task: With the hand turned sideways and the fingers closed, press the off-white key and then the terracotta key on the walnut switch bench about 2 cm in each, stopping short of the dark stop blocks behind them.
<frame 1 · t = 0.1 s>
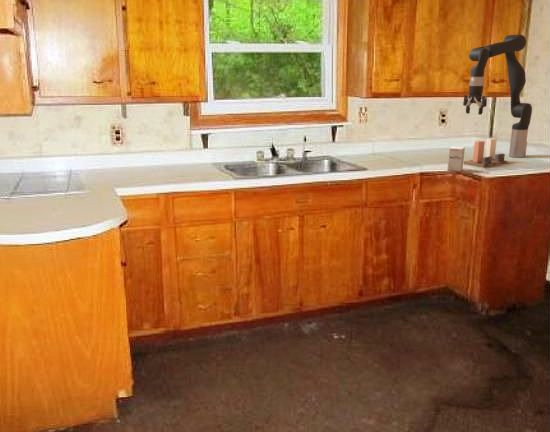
hand: (473, 113, 306), 29 cm above the worktop, tool pointing down, fingers open, 8 cm apart
switch bench: (485, 163, 315), on the worktop
key white: (490, 148, 318), point 8 cm above the worktop, slide at 0.0 cm
key terracotta: (478, 151, 309), point 8 cm above the worktop, slide at 0.0 cm
supplement box: (455, 170, 298), on the worktop
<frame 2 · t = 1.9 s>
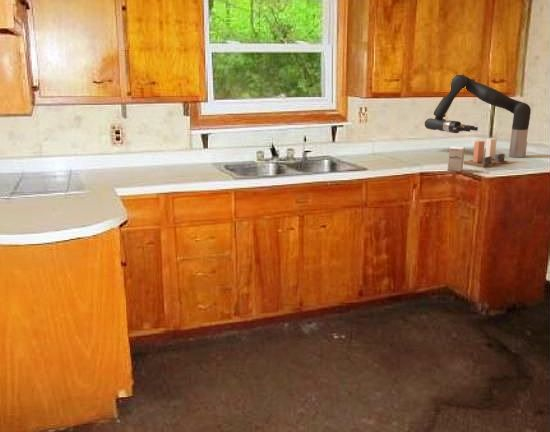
hand: (473, 129, 326), 18 cm above the worktop, tool horizontal, fingers open, 6 cm apart
nothing on the worktop moved.
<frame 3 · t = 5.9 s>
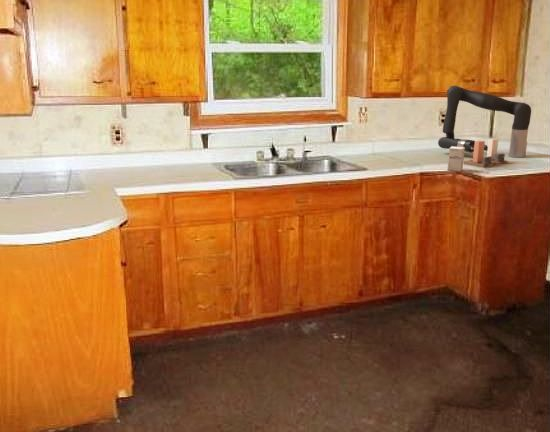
hand: (490, 149, 319), 8 cm above the worktop, tool horizontal, fingers closed
key white: (492, 149, 317), point 8 cm above the worktop, slide at 1.2 cm, touching gripper
everything else where it was.
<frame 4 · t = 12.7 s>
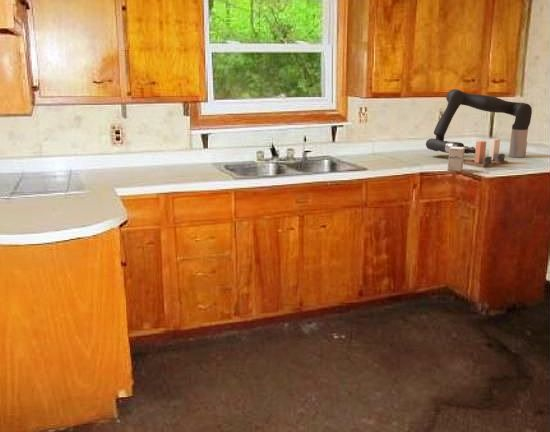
hand: (478, 152, 310), 7 cm above the worktop, tool horizontal, fingers closed
key white: (494, 149, 316), point 8 cm above the worktop, slide at 2.4 cm
key terracotta: (480, 151, 308), point 8 cm above the worktop, slide at 1.1 cm, touching gripper
everything else where it was.
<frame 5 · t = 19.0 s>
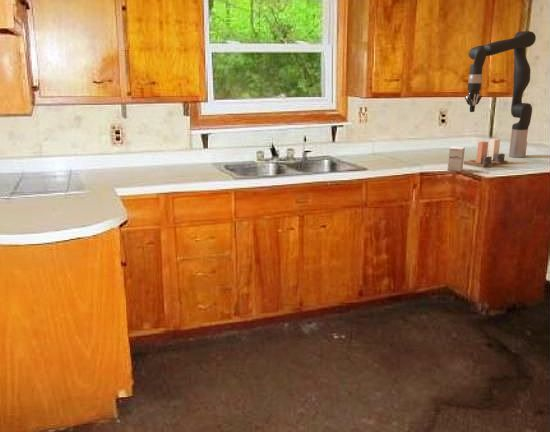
hand: (472, 111, 320), 29 cm above the worktop, tool pointing down, fingers closed
key terracotta: (482, 152, 307), point 8 cm above the worktop, slide at 2.4 cm
everything else where it was.
at the end: key white slide at 2.4 cm; key terracotta slide at 2.4 cm; supplement box moved 0.3 cm from its start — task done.
